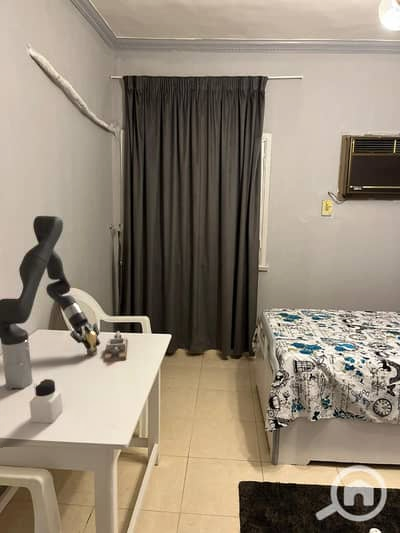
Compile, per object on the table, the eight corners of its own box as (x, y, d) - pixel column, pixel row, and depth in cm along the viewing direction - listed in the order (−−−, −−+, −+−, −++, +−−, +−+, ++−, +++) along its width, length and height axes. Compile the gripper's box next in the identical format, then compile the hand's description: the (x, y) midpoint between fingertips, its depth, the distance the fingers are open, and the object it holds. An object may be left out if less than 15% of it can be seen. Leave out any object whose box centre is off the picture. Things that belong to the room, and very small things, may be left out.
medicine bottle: (63, 411, 126) (60, 377, 124) (52, 423, 119) (49, 387, 117) (42, 410, 127) (39, 376, 125) (31, 422, 120) (27, 387, 118)
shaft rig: (126, 360, 166) (125, 348, 165) (104, 362, 164) (104, 349, 163) (127, 340, 189) (127, 330, 188) (109, 342, 187) (108, 331, 186)
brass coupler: (96, 355, 171) (95, 334, 169) (86, 356, 170) (84, 335, 169) (97, 351, 175) (96, 331, 174) (87, 352, 175) (86, 331, 173)
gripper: (65, 315, 168) (84, 347, 163) (91, 307, 180) (110, 337, 175) (58, 324, 172) (77, 356, 167) (85, 316, 184) (103, 346, 179)
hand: (94, 346), depth 171 cm, fingers closed on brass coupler, 4 cm apart
